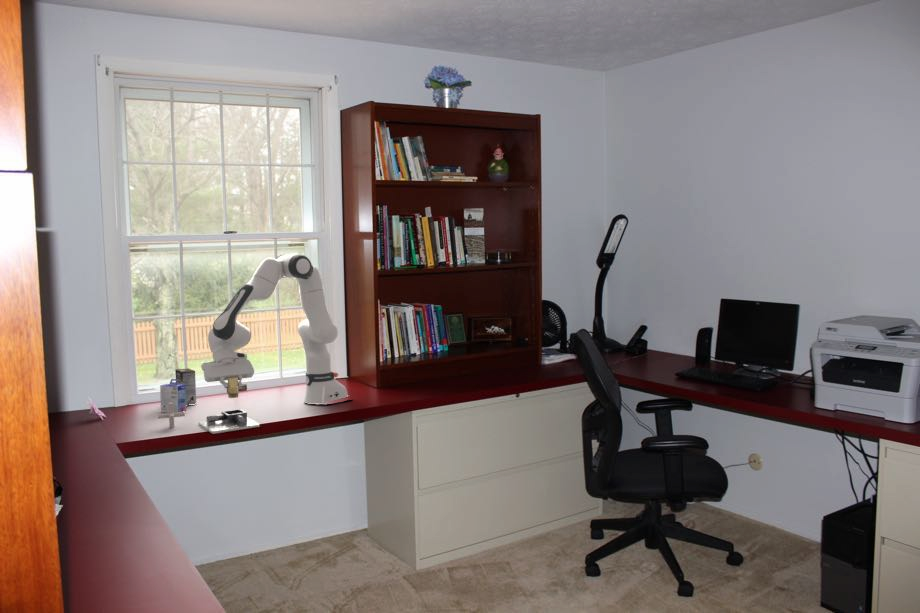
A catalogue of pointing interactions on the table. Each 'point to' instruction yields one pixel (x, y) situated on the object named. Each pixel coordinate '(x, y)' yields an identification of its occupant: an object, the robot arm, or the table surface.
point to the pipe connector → (171, 415)
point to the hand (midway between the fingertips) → (233, 386)
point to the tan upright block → (233, 387)
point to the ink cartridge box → (173, 396)
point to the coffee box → (187, 384)
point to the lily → (94, 409)
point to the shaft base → (228, 422)
